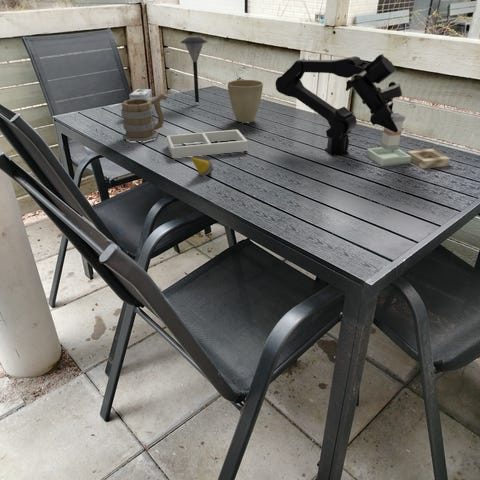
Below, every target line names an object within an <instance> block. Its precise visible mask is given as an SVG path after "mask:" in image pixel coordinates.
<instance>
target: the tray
mask: <svg viewBox="0 0 480 480" xmlns="http://www.w3.org/2000/svg"><path fill="white" fill-rule="evenodd" d="M365 156H366V157H367V158H368V159H370V160H371V161H373V162H374V163H376V164H377V165H378V166H380V167H383V168H384V167H393V166H401V165H409V164H411V157H412V156H410V155H408V154H407V152H406V151H403V150H401V149H400V148H399V149H397V150H385V149H384V148H382V147H381V146H380V147H373V148H367V149H366V151H365Z"/></svg>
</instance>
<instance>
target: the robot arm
mask: <svg viewBox="0 0 480 480" xmlns="http://www.w3.org/2000/svg"><path fill="white" fill-rule="evenodd" d="M364 72H365V73H364ZM305 73H313V74H314V73H316V74H317V73H320V74H333V75H335V76H338V77H340V78H345V79H348V80H347V81H346V85H345V86H346V87H345V91H346V92H348V91H349V90H351V88H352V89H353V91H354V92H355V93H356V94H357V95H358V97H359V98H360V99H361V100H362V101H361V103H362V104H363V105H366V107H367V108H368V109H369V113H370V114H371V115H370V120H369V122H370V123H371V124H372V125H373V126H375V125H378V126H380V127H383V128H384V127H385V128H387V129H389V130H391V131H393V132H395V133H396V132H397V131H398V129H397V127H396V125H395V123H394V121H393V119H392V117H391V113H394V110H393V108H394V102H393V101H394V99H396V98H400V97H401V96H402V94H403V90H402V88H401V84H400V83H398V82H397V83H396V82H395V81H394V80H393V81H389V83H388V87H385V88H383V89H381V87H379V86H377V85H376V84H380V83H383V81H384V80H386V79H387V78H388V77H389V76H390V75H392V74H393V73H395V66H394V64H393V62H392V61H390V60H389V59H388V58H387V57H385V55H384V54H383V53H381V54H378V56H376V57H375V59H374V60H373V61H371V62H369V63H368V62H366V61H362V59H361V58H360V57H359V56H349V57H344V58H340V59H335V60H334V59H333V60H332V59H305V58H302V59H298V60H296V61H294V63H292V65H291V66H290V67H289V68H288V69H287V70H286V71H285V72H284V73H283V74H282V75H281V76H279V77H277V78H276V81H275V89H276V92H278V93H280V94H282V95H284V96H287V97H290V98H294V99H296V100H298V101H299V102H301V103H302V104H303V105H304V106H306V107H308V108H309V109H311V110H312V111H314V112H315V113H317V114H318V115H319V116H321V117H322V118H324V119H325V120H326V121H327V123H328V126H329V128H327V130H325V134H326V137H327V146H326V147H325V148H324V150H325V151H326V153H328V154H330V155H331V156H338V155H339V156H340V155H341V156H342V155H349V153H350V152H349V151H348V150H349V146H350V145H349V143H350V139H349V134H350V133H351V132H352V130H353V129H355V128H356V127H357V124H358V123H357V122H358V121H357V117H356V115H354V112H353V111H350V110H349V109H348V108H346V107H345V106H342V107H340V108H335V106H333V105H332V104H329V103H328V102H327V101H325V100H324V99H323V98H321V97H319V96H318V95H317V94H315V93H314V92H312V91H311V90H309V89H308V88H307V87H305V86H304V84H303V82H302V81H301V80H302V78H303V76H304V74H305ZM361 73H364V74H362V75H361ZM354 76H355V77H354ZM352 77H354V78H353V79H349V78H352ZM389 103H390V104H389Z"/></svg>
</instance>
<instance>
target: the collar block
mask: <svg viewBox="0 0 480 480" xmlns="http://www.w3.org/2000/svg"><path fill="white" fill-rule="evenodd" d="M406 153H407V154H408V155H410V156H412V157H411V161H410V163H412V164H414V165H416V166H417V167H420V168H421V169H422V170H423V169H431V168H432V169H433V168H440V167H447V166H449V165H450V161H451V157H449V156H446V155H444V154H443V153H441V152H439V151H437V150H435V149H434V148H425V149H416V150H407V151H406Z"/></svg>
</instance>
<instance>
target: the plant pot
mask: <svg viewBox="0 0 480 480" xmlns="http://www.w3.org/2000/svg"><path fill="white" fill-rule="evenodd" d="M263 88H264V82H263V81H260V80H254V79H237V80H231V81H228V82H227V91H228V96H229V100H230V104H231V108H232V111H233V114H234V115H233V116H234V117H235V120H236V122H237V121H239V122H243V123H247V122H252V123H254V122H255V119H256V116H257V114H258V111H259V107H260V104H261V98H262V95H263V94H262V93H263ZM253 121H254V122H253ZM243 123H242V124H243Z"/></svg>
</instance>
